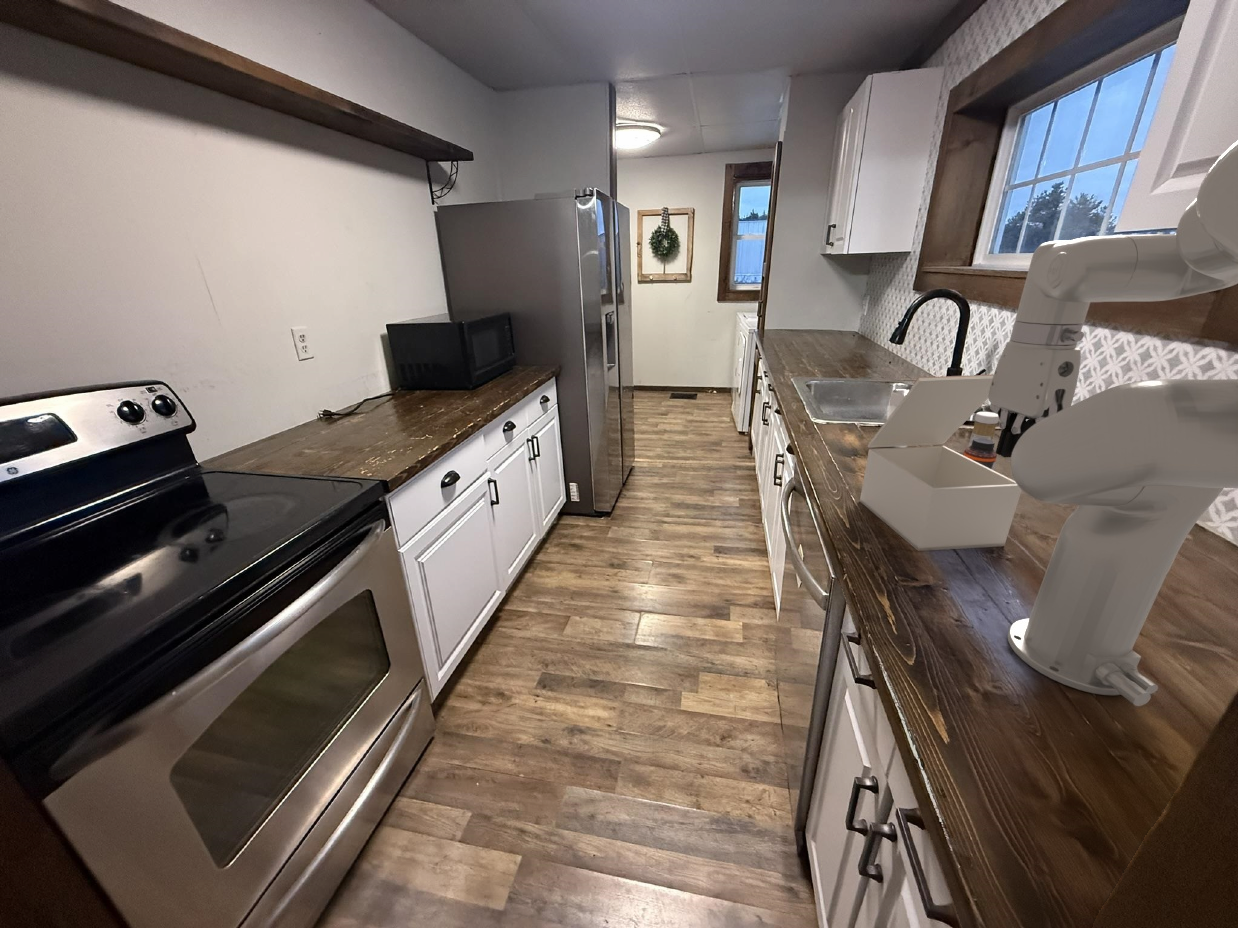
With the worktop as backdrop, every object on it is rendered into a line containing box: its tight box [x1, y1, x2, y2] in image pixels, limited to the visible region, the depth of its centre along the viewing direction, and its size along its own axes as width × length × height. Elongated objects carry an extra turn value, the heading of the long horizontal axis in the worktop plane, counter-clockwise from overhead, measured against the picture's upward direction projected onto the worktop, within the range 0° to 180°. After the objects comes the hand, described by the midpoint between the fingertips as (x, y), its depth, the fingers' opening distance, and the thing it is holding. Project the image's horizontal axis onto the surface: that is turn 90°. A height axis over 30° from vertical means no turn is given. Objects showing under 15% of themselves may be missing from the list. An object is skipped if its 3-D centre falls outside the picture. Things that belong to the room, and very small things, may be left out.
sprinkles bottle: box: [967, 411, 1000, 447], centre depth 120 cm, size 5×5×13 cm
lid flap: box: [867, 374, 994, 449], centre depth 94 cm, size 20×16×1 cm
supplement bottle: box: [962, 438, 998, 470], centre depth 109 cm, size 6×6×11 cm
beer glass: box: [887, 388, 910, 448], centre depth 135 cm, size 7×7×15 cm
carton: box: [859, 445, 1023, 552], centre depth 95 cm, size 20×16×12 cm
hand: (1008, 455), depth 77 cm, fingers closed
